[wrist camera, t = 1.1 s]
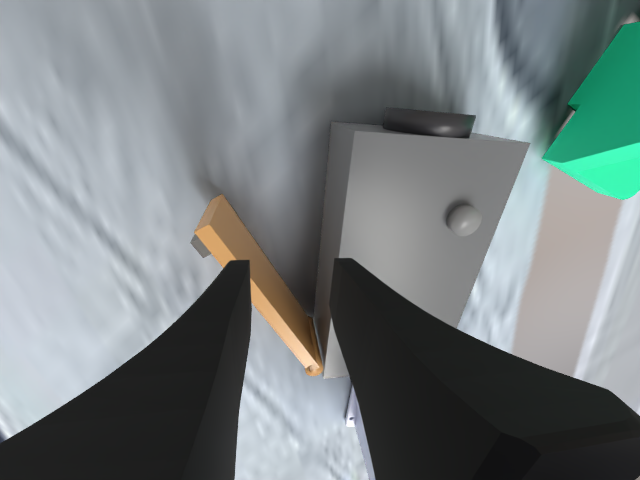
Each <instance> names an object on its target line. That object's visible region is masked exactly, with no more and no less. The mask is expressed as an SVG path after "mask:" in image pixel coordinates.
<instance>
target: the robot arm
mask: <svg viewBox="0 0 640 480" xmlns="http://www.w3.org/2000/svg"><path fill="white" fill-rule="evenodd" d="M329 307H330V313H331V318H332V323H333V327H334V331H335V334H336V337H337V340H338V343H339V346H340V349H341V352H342V355H343V358H344V361H345V364H346V367H347V370H348V373H349V376H350V379H351V382H352V389H351V395H350V400H349V405H348V410H347V415H346V420H345V424H346V426H348V427H351V426H355V428H356V432H357V436H358V439H359V443H360V447H361V450H362V454H363V458H364V462H365V465H366V469H367V473H368V476H369V480H635V479H636V478H638V477H639V476H640V416H639V415H638V414H637V413H636V412H634V411H633V410H632V409H631V408H630V407H629V406H627V405H626V404H625V403H624V402H623V401H622V400H621V399H619V398H618V397H617V396H616V395H615V394H613V393H612V392H611V391H609V390H608V389H605V388H602V387H599V386H596V385H593V384H590V383H587V382H585V381H582V380H579V379H576V378H573V377H570V376H567V375H564V374H562V373H558V372H556V371H553V370H550V369H547V368H544V367H542V366H539V365H537V364H534V363H532V362H529V361H527V360H524V359H522V358H519V357H517V356H514V355H512V354H509V353H507V352H505V351H503V350H500V349H498V348H496V347H493V346H491V345H489V344H487V343H485V342H483V341H480V340H478V339H476V338H474V337H472V336H470V335H468V334H466V333H464V332H462V331H460V330H458V329H456V328H454V327H452V326H450V325H449V324H447V323H445V322H443V321H441V320H440V319H438V318H436V317H434V316H433V315H431V314H429V313H428V312H426V311H424V310H423V309H421V308H419V307H418V306H416V305H415V304H413V303H412V302H410V301H409V300H407V299H406V298H404V297H403V296H401V295H400V294H399V293H397V292H396V291H394V290H393V289H392V288H390V287H389V286H388V285H386V284H385V283H384V282H382V281H381V280H380V279H378V278H377V277H376V276H374V275H373V274H372V273H371V272H369V271H368V270H367V269H366V268H364V267H363V266H362V265H360V264H359V263H358V262H357V261H355V260H354V259H352V258H334V266H333V274H332V282H331V291H330V299H329ZM251 311H252V306H251V281H250V260H230V261H229V262H228V263H227V264H226V266H225V267H224V268H223V270H222V271H221V272H220V274H219V275H218V276H217V277H216V279H215V280H214V281H213V282H212V284H211V285H210V286H209V287H208V288H207V289H206V290H205V292H204V293H203V294H202V295H201V296H200V297H199V298H198V299H197V301H196V302H195V303H194V304H193V305H192V306H191V307H190V308H189V309H188V310H187V311H186V312H185V313H184V314H183V315H182V316H181V317H180V318H179V319H178V320H177V321H176V322H175V323H173V324H172V325H171V326H170V327H169V328H168V329H167V330H166V331H165V332H164V333H162V334H161V335H160V336H159V337H158V338H157V339H155V340H154V341H153V342H152V343H151V344H150V345H148V346H147V347H146V348H145V349H143V350H142V351H141V352H139V353H138V354H136V355H135V356H134V357H132V358H131V359H130V360H128V361H127V362H126V363H124V364H123V365H122V366H120V367H119V368H118V369H116V370H115V371H114V372H112V373H111V374H110V375H108V376H107V377H105V378H104V379H102V380H101V381H99V382H98V383H97V384H95V385H94V386H92V387H91V388H89V389H88V390H86V391H85V392H83V393H82V394H80V395H79V396H77V397H76V398H74V399H72V400H71V401H69V402H68V403H66V404H65V405H63V406H61V407H60V408H58V409H57V410H55V411H54V412H52V413H50V414H49V415H47V416H46V417H44V418H42V419H41V420H39V421H37V422H36V423H34V424H33V425H31V426H29V427H28V428H26V429H24V430H23V431H21V432H19V433H17V434H16V435H14V436H12V437H10V438H9V439H7V440H5V441H4V442H2V443H0V480H234V477H235V461H236V445H237V430H238V416H239V408H240V400H241V393H242V387H243V380H244V374H245V368H246V361H247V355H248V348H249V342H250V335H251Z"/></svg>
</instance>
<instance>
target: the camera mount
mask: <svg viewBox="0 0 640 480" xmlns="http://www.w3.org/2000/svg"><path fill="white" fill-rule="evenodd" d="M568 105H569V106H571V107H572V108H573V109H575V113H574V115H573V116H572V117H571V119H570V120H569V121H568V123H567V124H566V126H565V127H564V128H563V130H562V131H561V132H560V134H559V135H558V137H557V138H556V139H555V141H554V142H553V143H552V145H551V146H550V148H549V149H548V150H547V152H546V153H545V154H544V156H543V157H542V159H543V160H545V161H547V162H548V163H550V164H551V165H553V166H555V167H557V168H558V169H560V170H561V171H563V172H565V173H566V174H568V175H569V176H571V177H573V178H574V179H576V180H578V181H579V182H581V183H583V184H584V185H586V186H588V187H589V188H591V189H592V190H594V191H596V192H597V193H601V194H604V195H608V196H611V197H614V198H618V199H622V200H624V199H628V198H630V197H632V196H633V195H635V194H636V193H637V192H638V191H639V190H640V22H635V23H630V24H624V25H623V27H622V28H621V29H620V31H619V32H618V34H617V35H616V36H615V38H614V39H613V41H612V42H611V43H610V45H609V46H608V48H607V49H606V50H605V52H604V53H603V55H602V56H601V57H600V59H599V60H598V62H597V63H596V64H595V66H594V67H593V69H592V70H591V71H590V73H589V74H588V76H587V77H586V78H585V80H584V81H583V83H582V84H581V86H580V87H579V88H578V90H577V91H576V93H575V94H574V95H573V97H572V98H571V100H570V101H569V102H568Z"/></svg>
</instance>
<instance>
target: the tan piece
mask: <svg viewBox="0 0 640 480" xmlns="http://www.w3.org/2000/svg"><path fill="white" fill-rule="evenodd" d="M194 233H195V235H194V237H193V239H192V240H191V242H190V243H191V244H192V245H193V247H194V248H195V249H196V250H197V251H198V252H199V254H200V255H201V256H202V257H203V258H204V257H206V256H208V255H210V254H212V255H213V256H214V257H215V258H216V260H217V261H218V262H219V263H220V264H221V266H222V267H223V268H224V267H225V266H226V264H227V263H228V262H229V261H230V260H250V281H251V302H252V303H253V305H254V306H255V307H256V308H257V310H258V311H259V312H260V313H261V314H262V316H263V317H264V318H265V319H266V321H267V322H268V323H269V324H270V325H271V327H272V328H273V329H274V330H275V331H276V333H277V334H278V335H279V336H280V338H281V339H282V340H283V341H284V342H285V344H286V345H287V346H288V347H289V349H290V350H291V351H292V352H293V353H294V355H295V356H296V357H297V358H298V360H299V361H300V362H301V363H302V364H303V366H304V367H305V371H306V374H307V375H309V376H316V375H319V374H320V373H321V372H322V371H323V365H322V360H321V355H320V350H319V346H318V341H317V336H316V331H315V327H314V322H313V319H312V318H311V317H309V316H307V314H306V313H305V311H304V310H303V309H302V307H301V306H300V304H299V303H298V301H297V300H296V299H295V297H294V296H293V294H292V293H291V291H290V290H289V289H288V287H287V286H286V284H285V283H284V281H283V280H282V278H281V277H280V276H279V274H278V273H277V271H276V270H275V268H274V267H273V266H272V264H271V263H270V261H269V260H268V258H267V257H266V256H265V254H264V253H263V251H262V250H261V248H260V247H259V246H258V244H257V243H256V241H255V240H254V238H253V237H252V236H251V234H250V233H249V231H248V230H247V228H246V227H245V225H244V224H243V223H242V221H241V220H240V218H239V217H238V215H237V214H236V213H235V211H234V210H233V208H232V207H231V205H230V204H229V203H228V201H227V200H226V198H225V197H224V195H223V194H221V195H220V196H218V197H216V198H214V199H212V200H211V201H210V203H209V205H208V207H207V209H206V210H205V212H204V214H203V216H202V218H201V220H200V222H199V224H198V226H197V228H196V229H195V231H194Z"/></svg>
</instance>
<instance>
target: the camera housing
mask: <svg viewBox="0 0 640 480" xmlns="http://www.w3.org/2000/svg"><path fill="white" fill-rule="evenodd" d="M475 118H476V115H465V114H455V113H444V112H433V111H422V110H410V109H399V108H386V111H385V117H384V123H383V125H370V124H357V123H343V122H331V127H330V138H329V150H328V161H327V172H326V183H325V194H324V206H323V217H322V228H321V239H320V250H319V262H318V273H317V284H316V295H315V307H314V318H313V322H314V327H315V331H316V336H317V341H318V346H319V350H320V355H321V360H322V365H323V371H322V374H323V379H327V378H337V377H347V376H349V373H348V370H347V367H346V364H345V361H344V358H343V355H342V352H341V349H340V346H339V343H338V340H337V337H336V334H335V331H334V327H333V323H332V318H331V313H330V307H329V299H330V291H331V282H332V274H333V266H334V258H352V259H354V260H355V261H357V262H358V263H359V264H360V265H362V266H363V267H364V268H366V269H367V270H368V271H369V272H371V273H372V274H373V275H374V276H376V277H377V278H378V279H380V280H381V281H382V282H384V283H385V284H386V285H388V286H389V287H390V288H392V289H393V290H394V291H396V292H397V293H399V294H400V295H401V296H403V297H404V298H406V299H407V300H409V301H410V302H412V303H413V304H415V305H416V306H418V307H419V308H421V309H423V310H424V311H426V312H428V313H429V314H431V315H433V316H434V317H436V318H438V319H440V320H441V321H443V322H445V323H447V324H449V325H450V326H452V327H454V328H457V326H458V323H459V321H460V318H461V316H462V313H463V311H464V308H465V306H466V303H467V301H468V298H469V296H470V293H471V291H472V288H473V286H474V283H475V281H476V278H477V276H478V273H479V271H480V268H481V266H482V263H483V261H484V258H485V256H486V253H487V251H488V248H489V246H490V243H491V241H492V238H493V236H494V233H495V231H496V228H497V226H498V223H499V220H500V218H501V215H502V213H503V210H504V208H505V205H506V203H507V200H508V198H509V195H510V193H511V190H512V188H513V185H514V183H515V180H516V178H517V175H518V173H519V170H520V168H521V165H522V163H523V160H524V158H525V155H526V153H527V150H528V148H529V145H530V143H527V142H521V141H515V140H510V139H504V138H499V137H493V136H488V135H482V134H477V133H471V131H472V128H473V125H474V121H475Z"/></svg>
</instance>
